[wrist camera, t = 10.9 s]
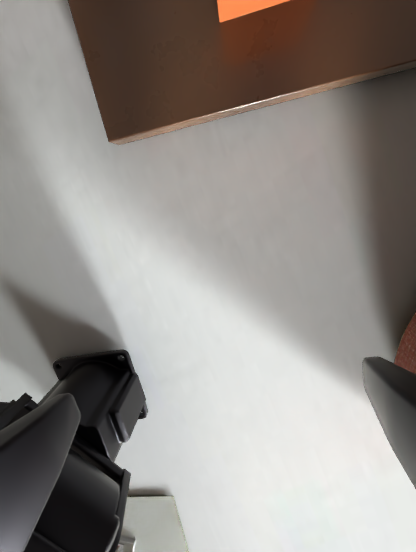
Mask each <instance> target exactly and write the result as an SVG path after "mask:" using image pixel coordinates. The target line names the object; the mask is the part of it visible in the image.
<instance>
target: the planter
mask: <svg viewBox="0 0 416 552" xmlns="http://www.w3.org/2000/svg"><path fill="white" fill-rule="evenodd" d="M394 364H396V365H398V366H400V367H402V368H404V369H406V370H408V371H410V372H412V373H414V374H416V312H415V313H414V315H413V317H412V318H411V320H410V322H409V323H408V325H407V327H406V329H405V331H404V333H403V336H402V338H401V341H400V343H399V346H398V350H397V353H396V357H395V361H394Z"/></svg>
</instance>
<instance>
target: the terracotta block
mask: <svg viewBox="0 0 416 552" xmlns="http://www.w3.org/2000/svg"><path fill="white" fill-rule="evenodd" d="M287 1H290V0H216V6H217V12H218V18H219V22H224V21H227V20H230V19H233V18H236V17H239V16H242V15H246V14H249V13H252V12H255V11H258V10H261V9H264V8H268V7H271V6H274V5H277V4H280V3H283V2H287Z"/></svg>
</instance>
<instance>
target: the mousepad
mask: <svg viewBox="0 0 416 552" xmlns="http://www.w3.org/2000/svg"><path fill="white" fill-rule="evenodd" d="M116 552H189V551H188V547H187V544H186V540H185V537H184V533H183V529H182V526H181V522H180V519H179V515H178V512H177V508H176V505H175V501H174V497H173V496H157V497H127V501H126V508H125V514H124V520H123V527H122V532H121V537H120V541H119V544H118V547H117V550H116Z"/></svg>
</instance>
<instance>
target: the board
mask: <svg viewBox="0 0 416 552" xmlns="http://www.w3.org/2000/svg"><path fill="white" fill-rule="evenodd" d="M68 3H69V6H70V10H71V13H72V17H73V20H74V23H75V27H76V30H77V34H78V37H79V41H80V44H81V48H82V51H83V55H84V58H85V62H86V65H87V69H88V72H89V75H90V79H91V82H92V86H93V89H94V93H95V96H96V100H97V103H98V107H99V110H100V114H101V117H102V121H103V124H104V127H105V131H106V134H107V138H108V141H109V142H111V143H114V144H117V145H121V144H125V143H129V142H133V141H136V140H140V139H144V138H148V137H152V136H155V135H159V134H163V133H167V132H171V131H174V130H178V129H182V128H186V127H190V126H194V125H197V124H201V123H205V122H209V121H213V120H216V119H220V118H224V117H228V116H232V115H236V114H239V113H243V112H247V111H251V110H255V109H258V108H262V107H266V106H270V105H274V104H278V103H281V102H285V101H289V100H293V99H297V98H300V97H304V96H308V95H312V94H316V93H320V92H323V91H327V90H331V89H335V88H339V87H342V86H346V85H350V84H354V83H358V82H361V81H365V80H369V79H373V78H377V77H381V76H384V75H388V74H392V73H396V72H400V71H403V70H407V69H411V68H415V67H416V0H290V1H287V2H283V3H280V4H277V5H274V6H271V7H268V8H264V9H261V10H258V11H255V12H252V13H249V14H246V15H242V16H239V17H236V18H233V19H230V20H227V21H224V22H219V18H218V12H217V6H216V0H68Z"/></svg>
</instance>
